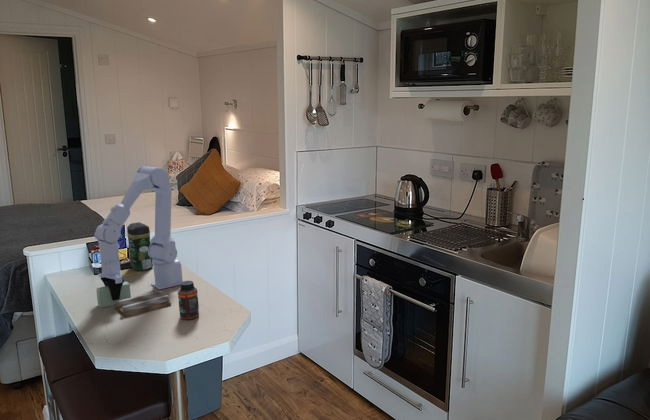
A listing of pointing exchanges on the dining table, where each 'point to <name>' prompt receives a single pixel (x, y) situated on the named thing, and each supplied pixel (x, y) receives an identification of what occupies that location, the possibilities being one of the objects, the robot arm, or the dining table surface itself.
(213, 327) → the dining table surface
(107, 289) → the pale green block
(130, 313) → the brown shallow piece
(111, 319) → the dining table surface
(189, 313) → the supplement bottle
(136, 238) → the coffee jar
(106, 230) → the robot arm
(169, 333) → the dining table surface
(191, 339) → the dining table surface
